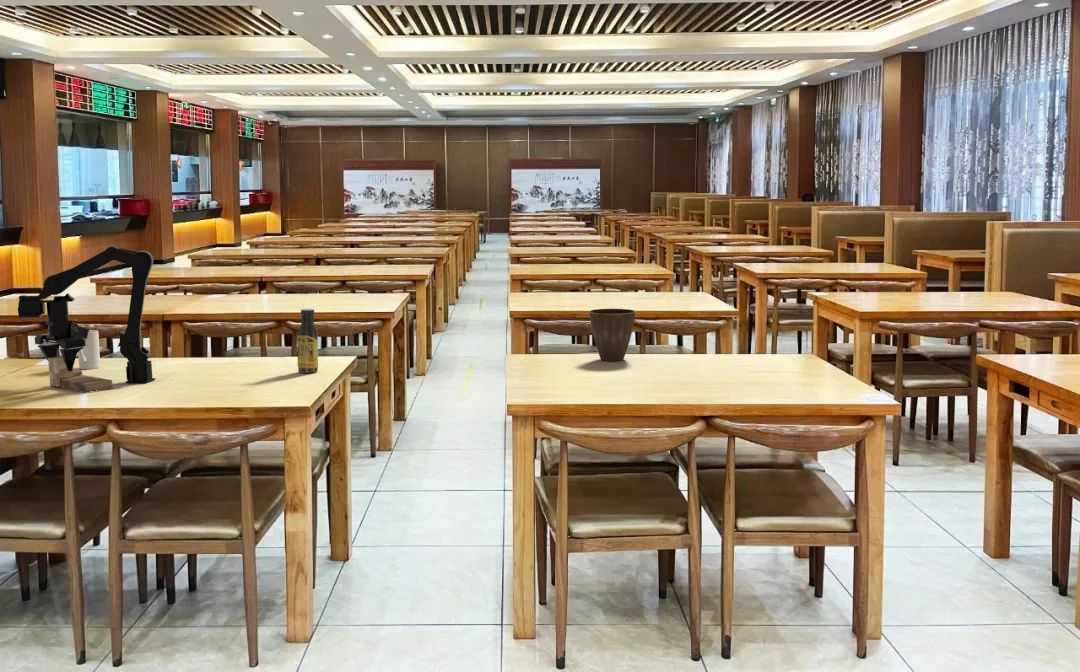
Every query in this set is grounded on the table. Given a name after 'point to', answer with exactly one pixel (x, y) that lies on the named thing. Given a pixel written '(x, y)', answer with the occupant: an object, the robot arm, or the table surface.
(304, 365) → the sauce bottle
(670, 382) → the table surface
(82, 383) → the walnut board
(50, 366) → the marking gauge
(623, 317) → the plant pot
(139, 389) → the table surface
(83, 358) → the mug
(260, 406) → the table surface
